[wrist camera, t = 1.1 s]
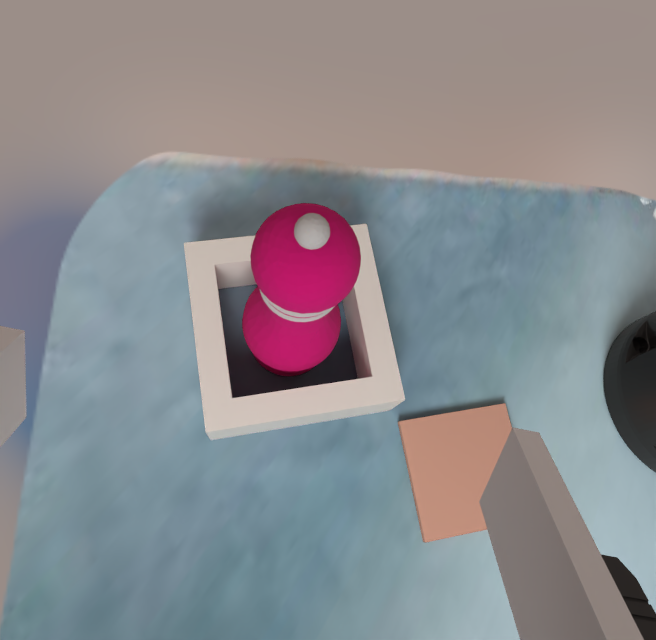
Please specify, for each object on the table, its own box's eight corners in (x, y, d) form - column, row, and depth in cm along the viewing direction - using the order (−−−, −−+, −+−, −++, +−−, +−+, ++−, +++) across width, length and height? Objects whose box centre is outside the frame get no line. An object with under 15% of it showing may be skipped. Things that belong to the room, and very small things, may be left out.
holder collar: (355, 250, 49) (366, 223, 44) (389, 410, 45) (405, 399, 40) (190, 269, 46) (183, 242, 42) (210, 440, 42) (205, 432, 38)
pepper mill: (252, 391, 44) (253, 307, 25) (235, 305, 46) (224, 167, 27) (341, 372, 45) (405, 279, 27) (321, 290, 47) (367, 148, 28)
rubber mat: (502, 404, 46) (505, 403, 46) (533, 518, 44) (536, 518, 43) (397, 422, 45) (399, 421, 44) (423, 541, 42) (425, 542, 42)
